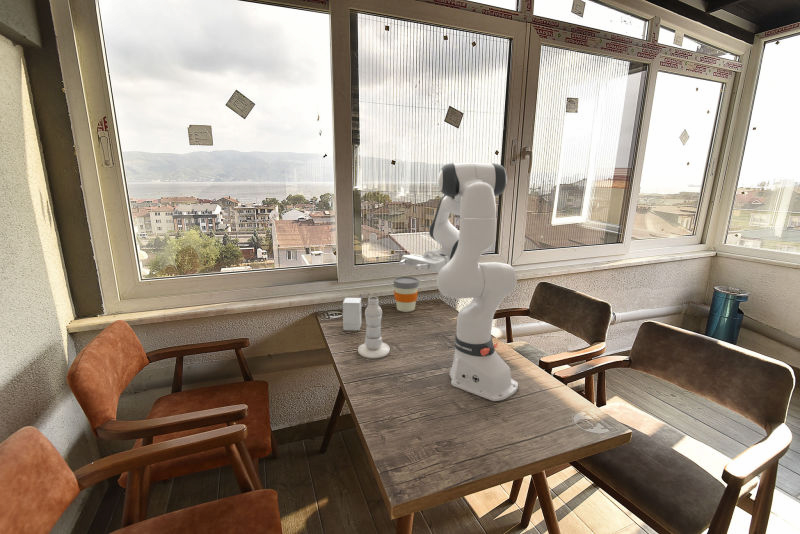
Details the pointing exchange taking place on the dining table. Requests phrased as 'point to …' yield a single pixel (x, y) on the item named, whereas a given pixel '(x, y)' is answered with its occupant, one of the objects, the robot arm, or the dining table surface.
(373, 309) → the plastic bottle
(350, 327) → the supplement box
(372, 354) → the coaster
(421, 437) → the dining table surface
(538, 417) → the dining table surface
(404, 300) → the reusable coffee cup
